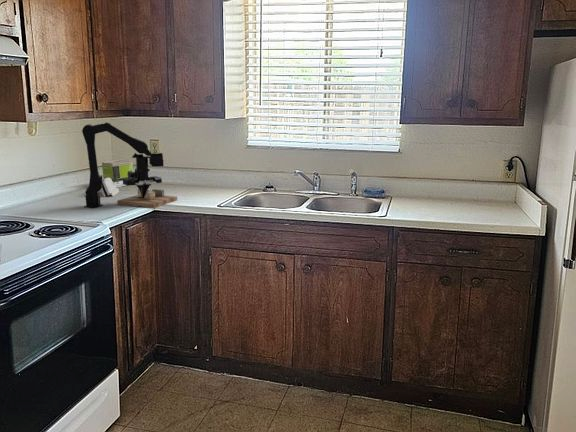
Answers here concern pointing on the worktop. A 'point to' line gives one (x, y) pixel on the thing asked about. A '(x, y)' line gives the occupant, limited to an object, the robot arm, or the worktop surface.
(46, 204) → the worktop surface
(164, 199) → the seat board
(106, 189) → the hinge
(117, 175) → the tea box
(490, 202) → the worktop surface
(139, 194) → the leg
